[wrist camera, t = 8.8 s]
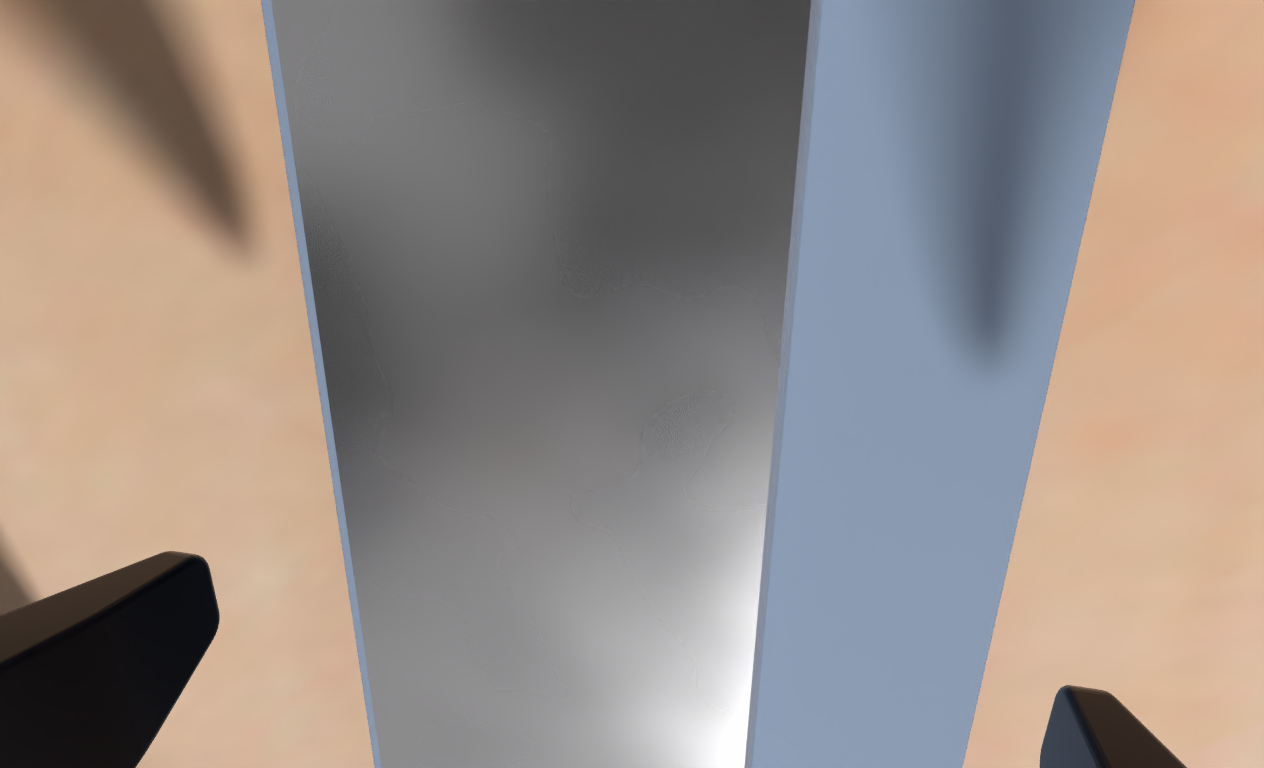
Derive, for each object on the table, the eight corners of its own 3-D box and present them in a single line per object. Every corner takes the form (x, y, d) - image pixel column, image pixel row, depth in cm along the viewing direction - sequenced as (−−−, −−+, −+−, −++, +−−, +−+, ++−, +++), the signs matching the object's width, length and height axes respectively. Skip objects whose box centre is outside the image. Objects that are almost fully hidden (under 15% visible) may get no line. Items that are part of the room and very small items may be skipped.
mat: (414, 950, 17) (404, 970, 17) (199, -583, 8) (170, -608, 8) (889, 1059, 16) (890, 1084, 15) (1279, -709, 7) (1304, -748, 6)
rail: (536, 966, 16) (450, 1245, 13) (462, -488, 8) (146, -873, 4) (729, 1010, 16) (695, 1318, 12) (870, -524, 7) (899, -1014, 4)
